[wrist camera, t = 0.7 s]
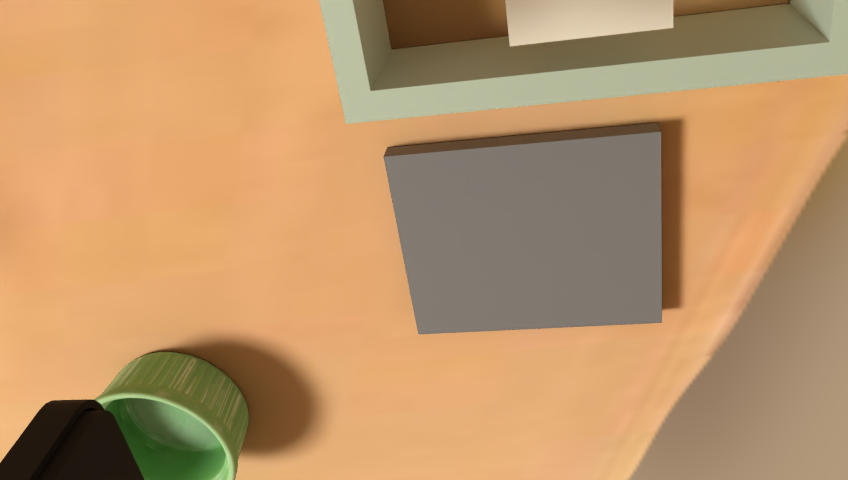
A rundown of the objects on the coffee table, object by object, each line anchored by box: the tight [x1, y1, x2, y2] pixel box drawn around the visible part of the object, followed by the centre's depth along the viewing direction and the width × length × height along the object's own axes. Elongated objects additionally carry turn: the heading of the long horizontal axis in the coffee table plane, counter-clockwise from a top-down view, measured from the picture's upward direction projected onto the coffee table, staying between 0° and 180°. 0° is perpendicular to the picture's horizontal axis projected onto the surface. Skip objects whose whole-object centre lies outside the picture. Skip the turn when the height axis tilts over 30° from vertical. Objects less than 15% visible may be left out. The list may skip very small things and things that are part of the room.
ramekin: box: [94, 352, 249, 480], centre depth 45 cm, size 9×9×4 cm
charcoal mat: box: [384, 123, 662, 334], centre depth 37 cm, size 10×12×1 cm
